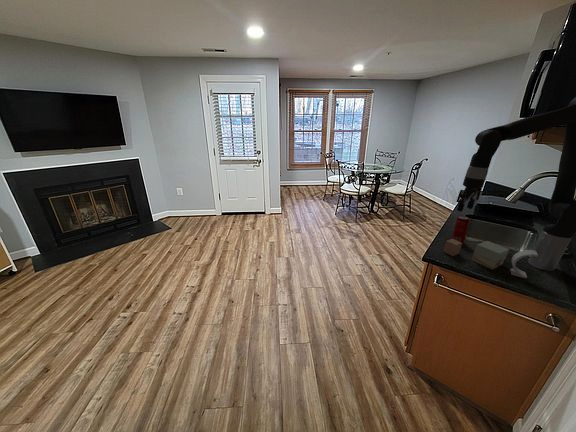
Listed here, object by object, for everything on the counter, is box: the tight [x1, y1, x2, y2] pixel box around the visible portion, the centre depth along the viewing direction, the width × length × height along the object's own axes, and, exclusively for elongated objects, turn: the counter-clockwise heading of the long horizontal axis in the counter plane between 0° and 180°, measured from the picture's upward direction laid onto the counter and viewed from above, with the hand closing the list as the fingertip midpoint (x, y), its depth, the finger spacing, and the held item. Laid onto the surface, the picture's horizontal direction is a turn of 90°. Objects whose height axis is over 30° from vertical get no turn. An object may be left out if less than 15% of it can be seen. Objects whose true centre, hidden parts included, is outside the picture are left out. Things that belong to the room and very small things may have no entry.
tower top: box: [473, 240, 510, 262], centre depth 111 cm, size 9×9×4 cm
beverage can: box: [451, 215, 470, 244], centre depth 131 cm, size 6×6×15 cm
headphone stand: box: [509, 249, 538, 279], centre depth 104 cm, size 5×6×12 cm
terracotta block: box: [442, 238, 463, 257], centre depth 121 cm, size 5×5×6 cm
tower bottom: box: [471, 252, 506, 270], centre depth 113 cm, size 9×9×4 cm
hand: (464, 209), depth 113 cm, fingers open, 8 cm apart
